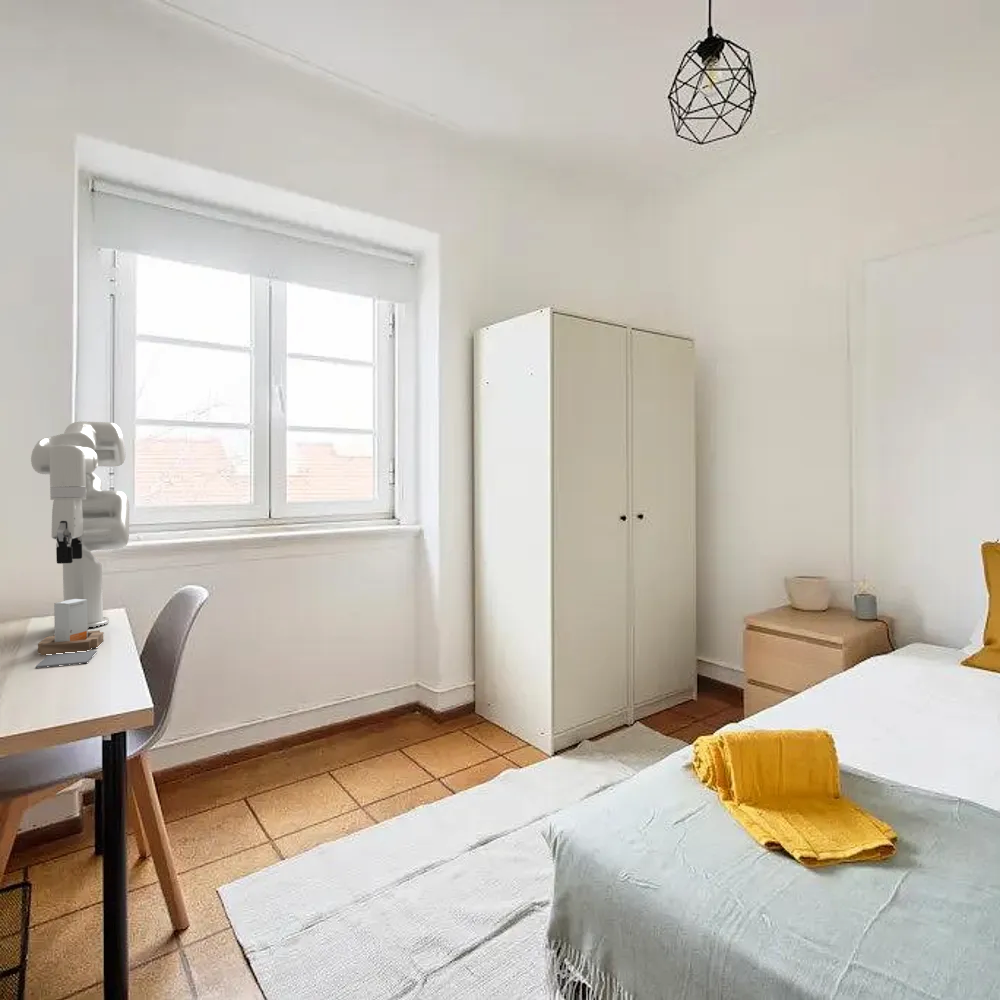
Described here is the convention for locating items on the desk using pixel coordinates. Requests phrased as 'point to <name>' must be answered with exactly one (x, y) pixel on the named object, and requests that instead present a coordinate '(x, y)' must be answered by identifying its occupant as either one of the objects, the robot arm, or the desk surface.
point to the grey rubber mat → (66, 659)
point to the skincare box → (71, 620)
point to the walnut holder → (70, 644)
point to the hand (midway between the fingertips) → (69, 560)
